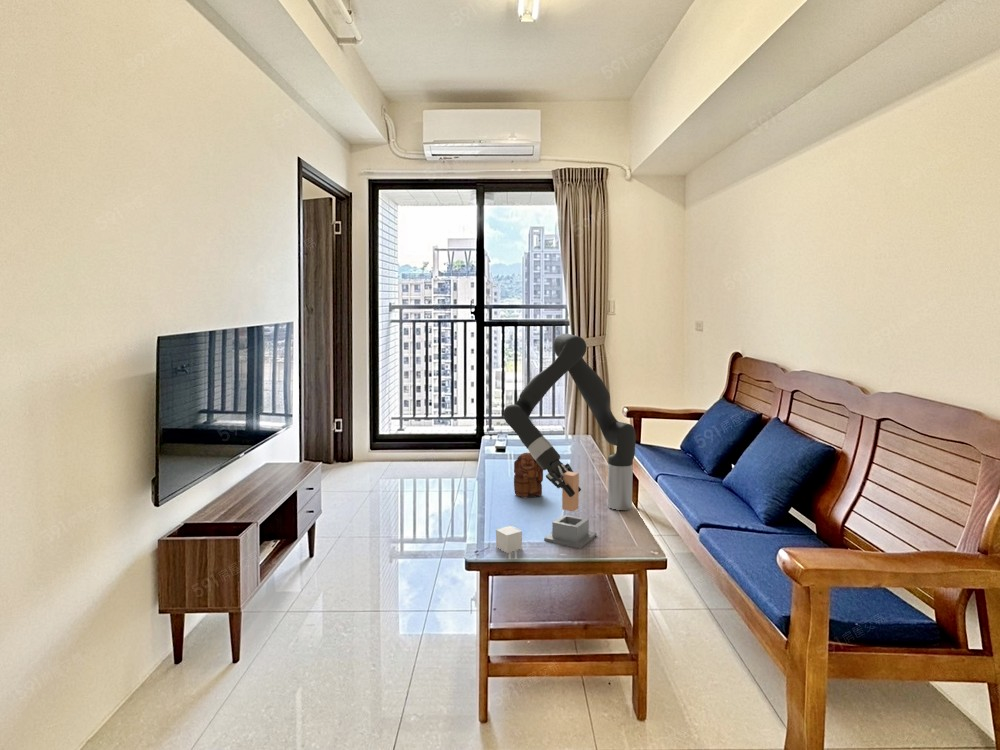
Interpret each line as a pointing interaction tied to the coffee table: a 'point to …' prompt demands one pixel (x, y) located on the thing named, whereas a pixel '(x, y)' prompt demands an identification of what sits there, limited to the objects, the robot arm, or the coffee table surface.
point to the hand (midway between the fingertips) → (575, 493)
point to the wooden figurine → (527, 476)
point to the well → (570, 531)
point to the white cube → (508, 539)
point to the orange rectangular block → (573, 482)
